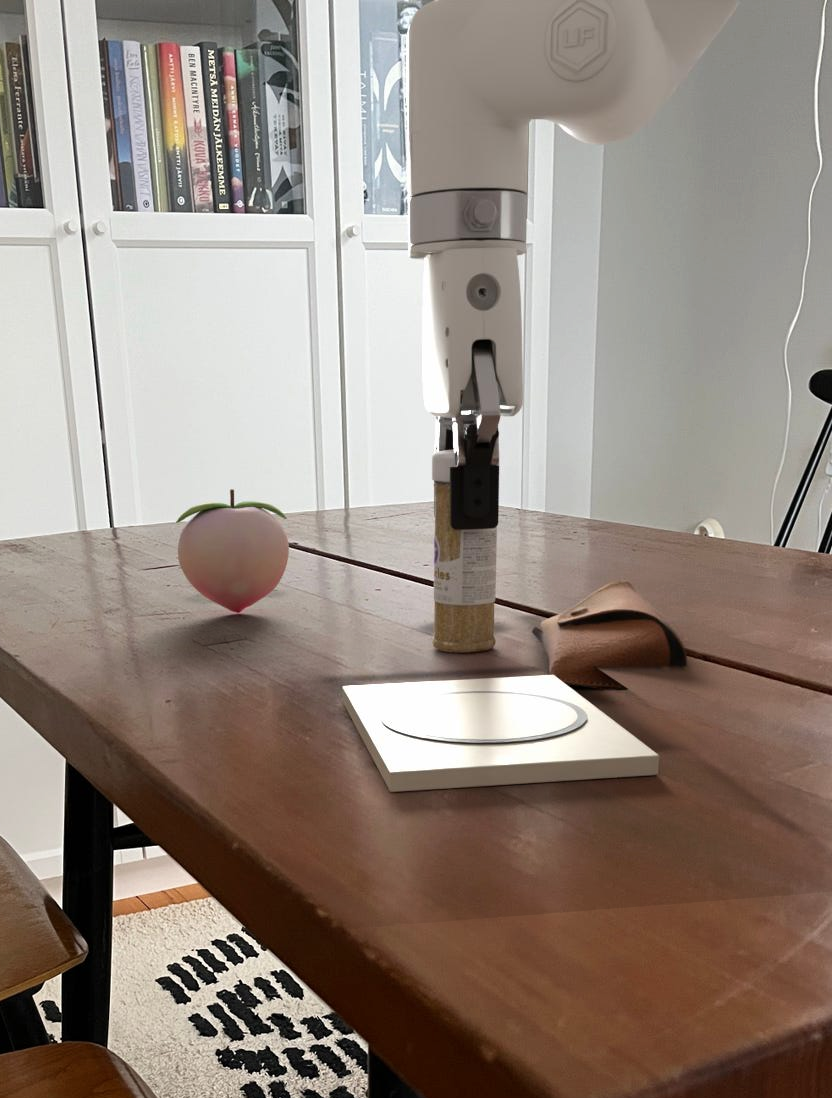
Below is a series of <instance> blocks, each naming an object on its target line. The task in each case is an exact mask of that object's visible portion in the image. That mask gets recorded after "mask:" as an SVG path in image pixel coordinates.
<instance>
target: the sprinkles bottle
mask: <svg viewBox="0 0 832 1098" xmlns="http://www.w3.org/2000/svg"><path fill="white" fill-rule="evenodd" d="M498 466H499V467H500V463H499V464H498ZM450 467H456V466H455V457H454V450H444V451H439V452H435V451H434V453H433V454H432V455H431V480H432V481H433V488H434V487H435V517H434V534H433V603H434V607H433V608H434V609H433V612H434V614H433V617H434V618H433V620H434V621H433V623H434V627H433V632H434V634H433V637H432V641H431V642H432V646H433V647H434V648H435V649H436V650H439V651H442V652H445V651H446V652H447V653H452V652H455V653H454V654H463V653H465V654H466V653H476V652H484V651H489V650H491V649H493V648H494V647H495V645H496V641H497V640H496V637H495V635H494V632H495V631H494V630H495V602H496V593H497V592H496V591H497V589H496V587H497V545H498V544H497V539H498V537H497V536H498V526H497V527H495V528H493V529H469V530H455V529H453V528H452V527H451V526H450ZM434 481H435V483H434Z"/></svg>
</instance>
